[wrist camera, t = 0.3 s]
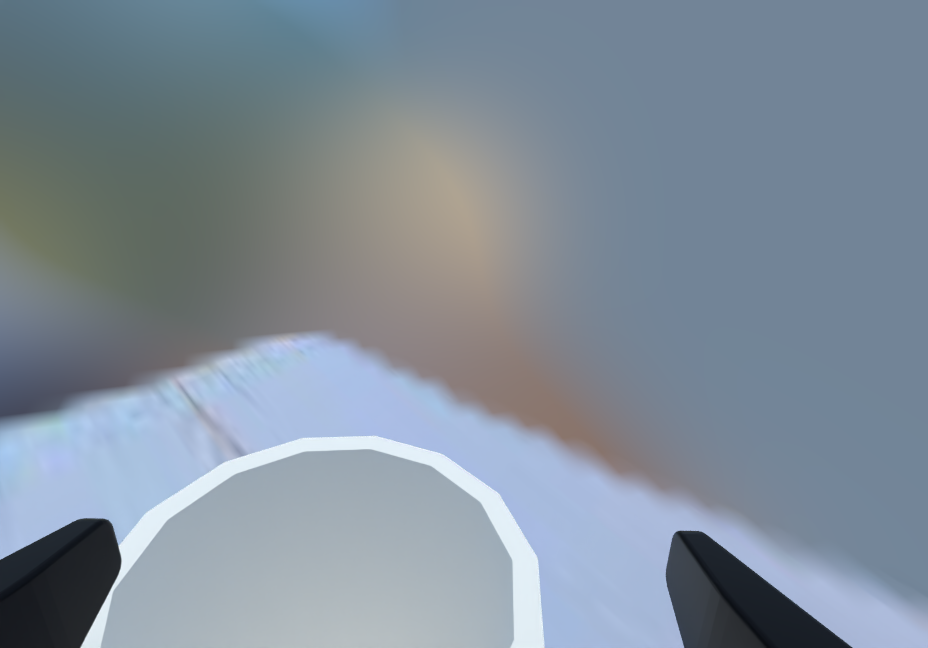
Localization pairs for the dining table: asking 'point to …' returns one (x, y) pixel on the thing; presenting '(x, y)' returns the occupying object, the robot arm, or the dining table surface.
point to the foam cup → (326, 557)
